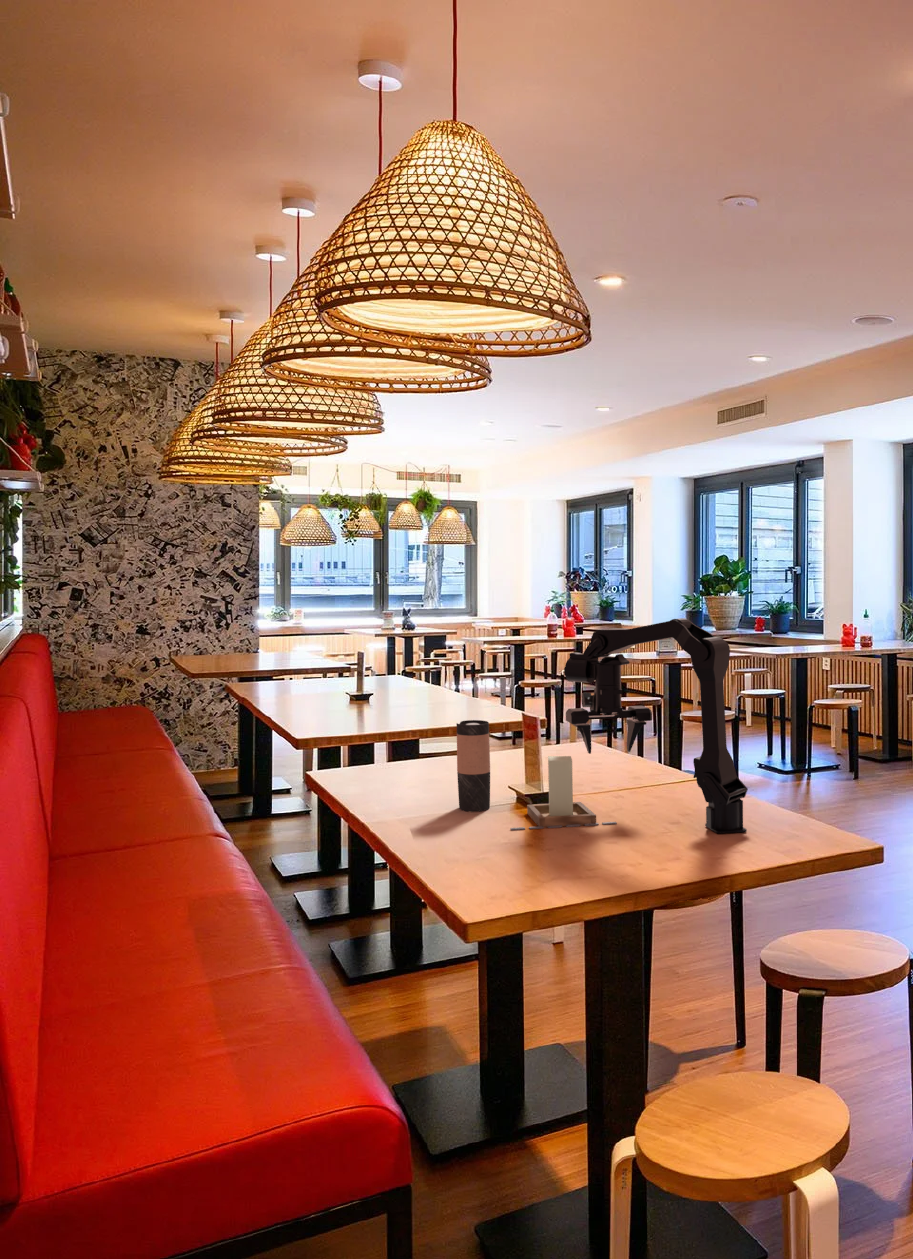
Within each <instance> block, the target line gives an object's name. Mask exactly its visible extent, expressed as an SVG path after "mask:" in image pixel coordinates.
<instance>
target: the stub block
mask: <svg viewBox="0 0 913 1259" xmlns="http://www.w3.org/2000/svg"><path fill="white" fill-rule="evenodd" d="M547 765H548V766H547V770H548V804H549V816H566V815H573V802H574V798H573V796H574V794H573V792H574V790H573V788H574V787H573V783H574V782H573V758H572V756H571V755H563V756H562V755H561V756H560V755H559V756H558V755H557V756H554V755H551V756H548V757H547Z"/></svg>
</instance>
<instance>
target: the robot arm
mask: <svg viewBox="0 0 913 1259" xmlns="http://www.w3.org/2000/svg"><path fill="white" fill-rule="evenodd" d="M667 639H674V640H675V642H677V644H678V645H679V647H680V648H681V649H682V650H683V651H684V652H685V653H686V654H689V657H690V661H691V666H692V669H693V672H694V673H695V675H696V677H697V679H698V681H699V692H700V693H699V694H700V712H701V715H700V716H701V727H702V728H701V729H702V730H701V731H702V732H701V733H702V751H701V755H700V756H697V757H694V758H693V760H692V761H693V763H692V764H693V768H694V774H693V779H696V784H697V787H698V788H700V789H701V792H702V795H703V797H704V801H705V803H708V804H707V806H705V824H704V825H705V827H706V828H707V829H710V830H711V831H713V832H714V833H715V834H731V833H732V834H733V833H744V832H747V828H745V827H744V800H743V799H744V798H746V795H747V793H748V787H747V786H746V785H745V783H744V782H743V781H742V780H741V779H740V778H739V777H738V775H737V773H736V767H735V764H734V759H733V758H732V756H731V754H730V752H729V750H728V746H727V728H726V710H725V709H726V708H725V688H724V679H725V677H726V674H727V670H728V668H729V666H730V665H729V664H730V656H731V655H730V654H731V649H730V645H729V642H727V641H726V640H725V639H724V638H721V637H719V636H715V635H713V634H712V633H711V632H709V631H708V630H705V629H704V628H702V627H700V626H698V625H696V624H695V623H693V622H692V621H691V620H689V619H688V618H683V617H682V618H679V617H678V618H673V619H671V620H668V621H664V622H658V623H654V624H648V625H642V626H638V627H633V628H625V627H624V628H622V627H621V628H620V627H619V628H618V627H617V628H616V627H614V628H613V627H612V628H604V629H596V630H594V631H593V633H592V634H591V637H590V642H589V643H588V644H587V647H586V648H585V650H584V651H583V652H582V653H581V652H576V651H575V652H569V658H568V659H567V660H566V662H565V665H564V669H563V670H564V672H563V673H564V676H565V678H566V680H567V681H568V682H573V683H574V682H576V683H587V684H591V683H593V682H595V687H594V688H593V689H594V690H593V694H592V693H591V692H582V693H581V707H579V708H575V707H574V708H567V710H566V711H565V721H566V722H567V723H569V724H570V725H572V726H574V727H576V728H578V730H579V733H580V734H581V738H582V740H583V742H584V745H585V748H586V750H587V754H592V734H591V733H592V731H591V730H592V729H591V724H590V723H588V722H589V721H590V720H606V719H607V720H608V719H609V720H610V719H613V720H614V719H626V724H627V734H626V751H627V752H631V750H632V749H633V747H634V743H635V741H636V739H637V736H638V735H639V733H640V731H641V729H642V727H643V726H646V725H647V722H651V721H653V713H652V710H651V708H649V707H647V706H645V705H629V706H628V707H627V709H624V708H623V707H622V695H623V689H622V666H625V665H626V666H627V665H630V663H631V662H630V661H629V660H628V659H627V658H626V657H625V656H624V654H622V653H621V652H623V651H626V650H629V649H630V648H633V647H635V646H636V645H641V644H645V643H646V644H647V643H651V642H657V641H663V640H667ZM612 654H613V655H614V654H615V656H611V655H612ZM601 658H602V659H601ZM599 659H600V660H599ZM585 708H589V710H587V709H585Z"/></svg>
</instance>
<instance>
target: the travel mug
mask: <svg viewBox="0 0 913 1259" xmlns="http://www.w3.org/2000/svg"><path fill="white" fill-rule="evenodd" d="M490 745H491V744H490V722H489V721H487V720H483V719H481V720H479V719H473V720H472V719H469V720H468V719H467V720H461V721H460V722H459V723H458V722H456V770H457V773H456V774H457V790H458V808H459V810H460V809H461V811H463V810H464V811H463V812H468V811H479V812H485V811H488V810H489V809H490V807H491V754H490V753H491V752H490V751H491V750H490Z"/></svg>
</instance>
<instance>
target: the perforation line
mask: <svg viewBox="0 0 913 1259" xmlns="http://www.w3.org/2000/svg"><path fill="white" fill-rule="evenodd" d="M599 824H600V823H598V822H596V823H588V824H584V825H583V826H584V827H587V826H588V827H590V826H599ZM601 824H602V825H603V826H604V825H605V826H606V825H607V826H610V825H617V824H618V822H616V821H607V822H601ZM562 827H563V826H562V825H555V826H548V827H547V828H548V829H557V828H562ZM565 827H566V828H571V827H572V828H573V827H576V828H577V827H581V825H580V824H571V825H566V826H565ZM528 829H529V830H537V829H538V830H539V829H544V827H543V826H538V825H536V826H529V827H528ZM520 830H521V831H523V830H526V827H524V826H522V827H510V831H520Z"/></svg>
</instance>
